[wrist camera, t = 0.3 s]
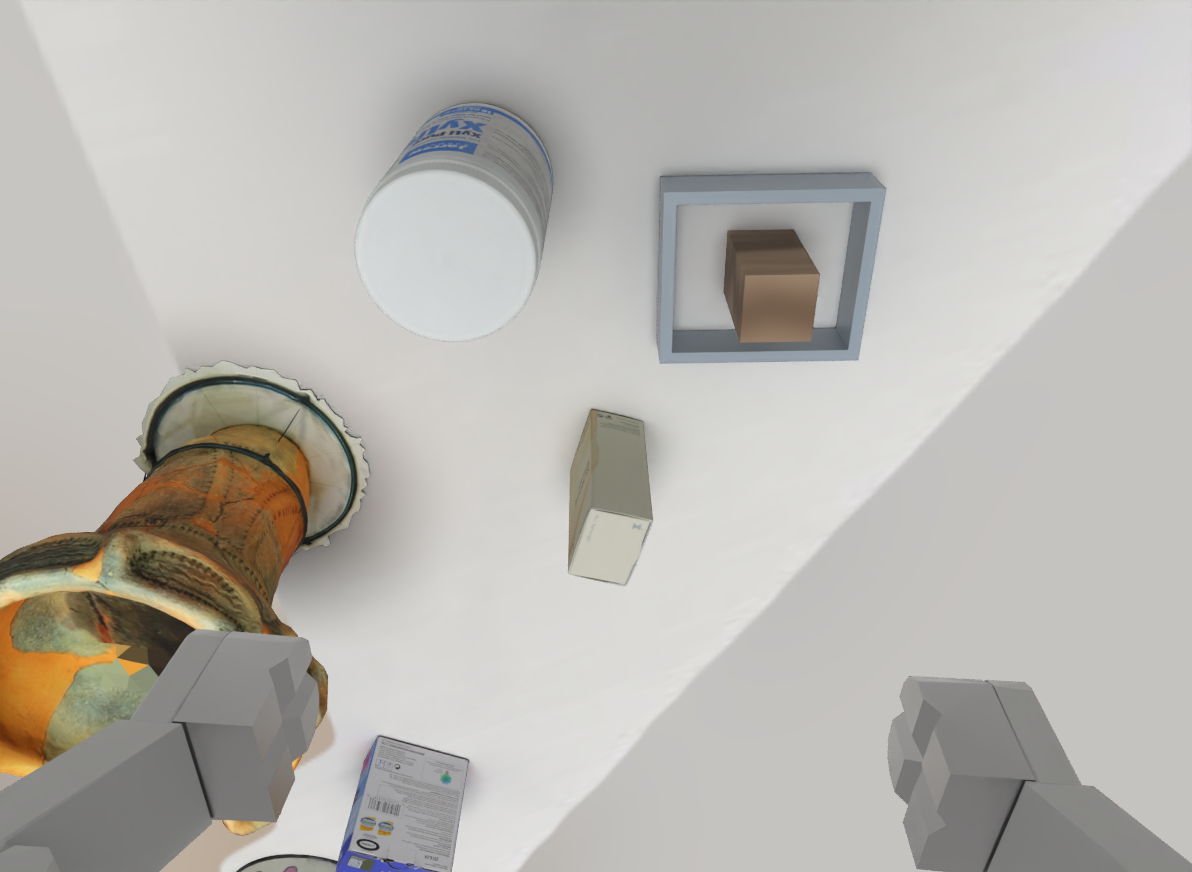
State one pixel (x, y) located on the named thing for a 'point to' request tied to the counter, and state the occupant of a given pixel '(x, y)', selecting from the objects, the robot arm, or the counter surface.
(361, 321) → the counter surface
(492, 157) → the supplement tub
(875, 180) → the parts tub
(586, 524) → the skincare box
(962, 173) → the counter surface
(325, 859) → the dog bowl
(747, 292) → the walnut block
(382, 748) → the ink cartridge box
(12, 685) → the decorative vase
